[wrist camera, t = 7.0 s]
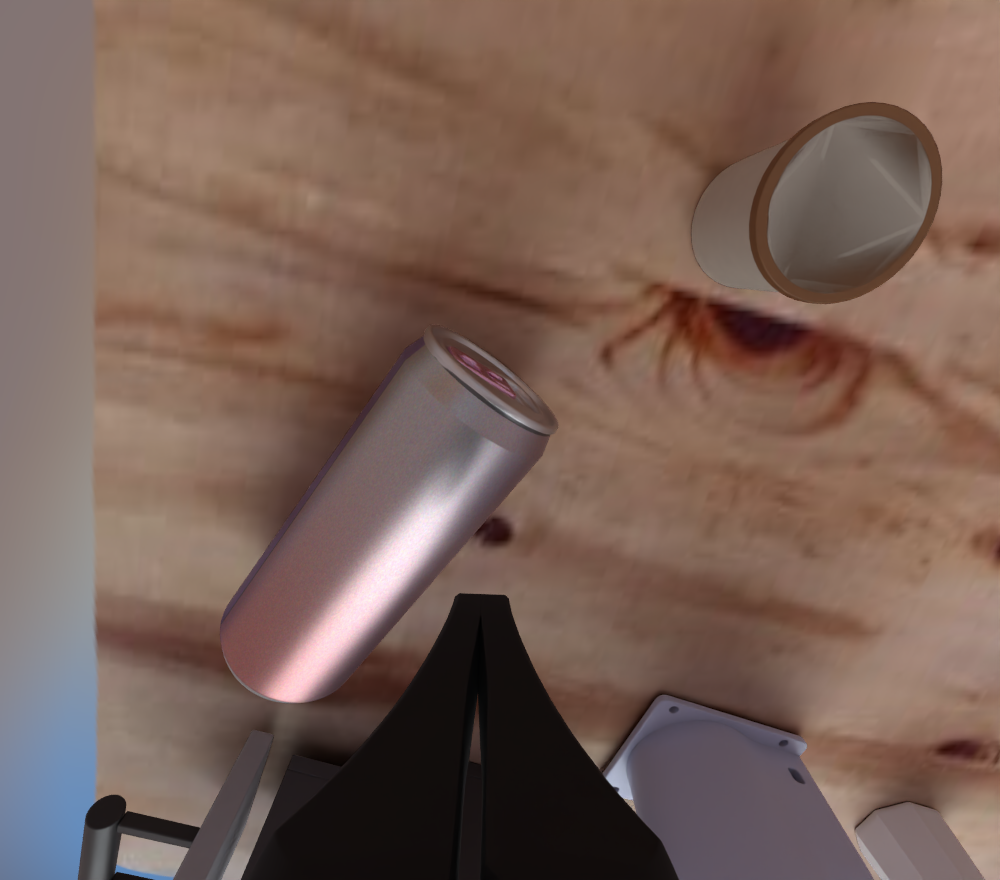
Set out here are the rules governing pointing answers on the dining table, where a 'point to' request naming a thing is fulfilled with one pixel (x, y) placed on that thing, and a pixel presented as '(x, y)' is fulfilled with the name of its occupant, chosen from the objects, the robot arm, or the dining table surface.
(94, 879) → the drawer
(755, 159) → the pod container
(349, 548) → the beverage can
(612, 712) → the dining table surface
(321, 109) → the dining table surface
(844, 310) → the dining table surface
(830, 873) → the robot arm
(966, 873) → the pepper shaker
